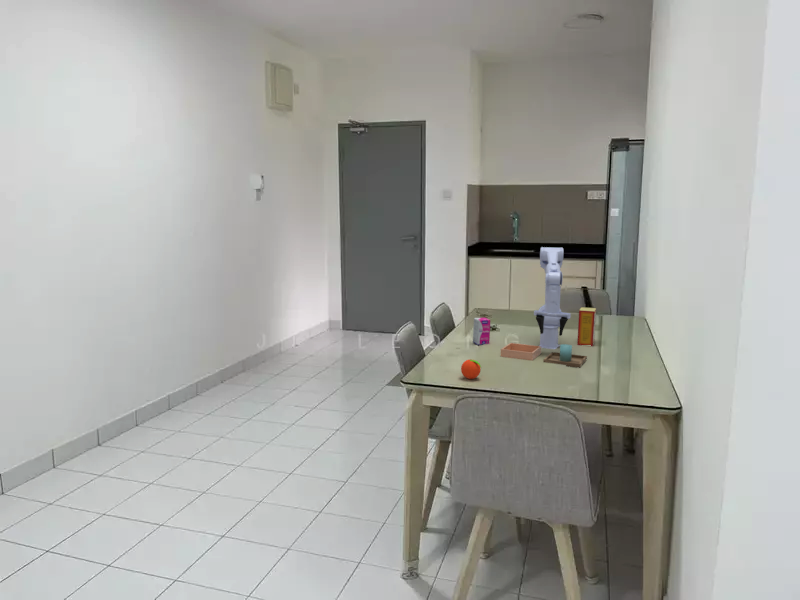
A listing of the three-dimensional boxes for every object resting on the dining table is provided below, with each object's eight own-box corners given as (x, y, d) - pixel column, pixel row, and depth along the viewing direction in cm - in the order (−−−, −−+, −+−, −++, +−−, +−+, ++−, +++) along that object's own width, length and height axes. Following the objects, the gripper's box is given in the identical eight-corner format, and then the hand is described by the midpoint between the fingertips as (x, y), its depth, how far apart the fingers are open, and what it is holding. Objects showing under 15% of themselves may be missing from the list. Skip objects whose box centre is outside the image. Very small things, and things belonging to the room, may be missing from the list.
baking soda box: (579, 340, 279) (581, 306, 277) (594, 342, 277) (596, 307, 275) (577, 345, 271) (579, 309, 268) (592, 346, 268) (594, 310, 266)
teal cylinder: (560, 358, 245) (561, 343, 244) (572, 359, 243) (573, 345, 242) (558, 360, 241) (559, 345, 240) (569, 362, 239) (570, 347, 238)
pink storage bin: (510, 350, 259) (510, 342, 258) (541, 354, 253) (541, 346, 252) (500, 357, 247) (500, 349, 247) (532, 361, 241) (532, 353, 241)
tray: (551, 355, 251) (552, 352, 251) (586, 359, 245) (586, 356, 245) (543, 363, 239) (543, 359, 239) (579, 367, 233) (579, 364, 232)
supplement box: (477, 345, 268) (478, 320, 266) (472, 342, 274) (473, 317, 272) (489, 345, 269) (490, 319, 268) (484, 342, 275) (485, 317, 273)
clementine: (486, 378, 217) (487, 359, 216) (475, 383, 212) (476, 363, 211) (468, 374, 222) (468, 355, 221) (456, 378, 217) (457, 359, 216)
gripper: (532, 301, 246) (531, 334, 248) (568, 304, 239) (567, 338, 242) (536, 298, 252) (535, 331, 254) (572, 301, 246) (570, 334, 248)
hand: (551, 334), depth 248 cm, fingers open, 7 cm apart
